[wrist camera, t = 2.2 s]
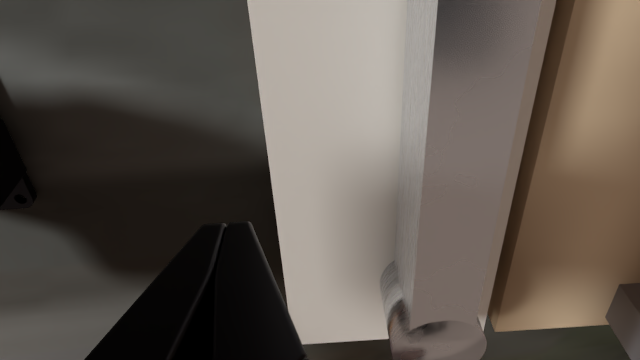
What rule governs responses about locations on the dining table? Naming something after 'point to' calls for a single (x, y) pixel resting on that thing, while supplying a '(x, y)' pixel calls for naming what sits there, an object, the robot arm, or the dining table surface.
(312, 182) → the jamb
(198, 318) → the robot arm
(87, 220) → the dining table surface
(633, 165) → the stepped wooden block
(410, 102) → the bar
